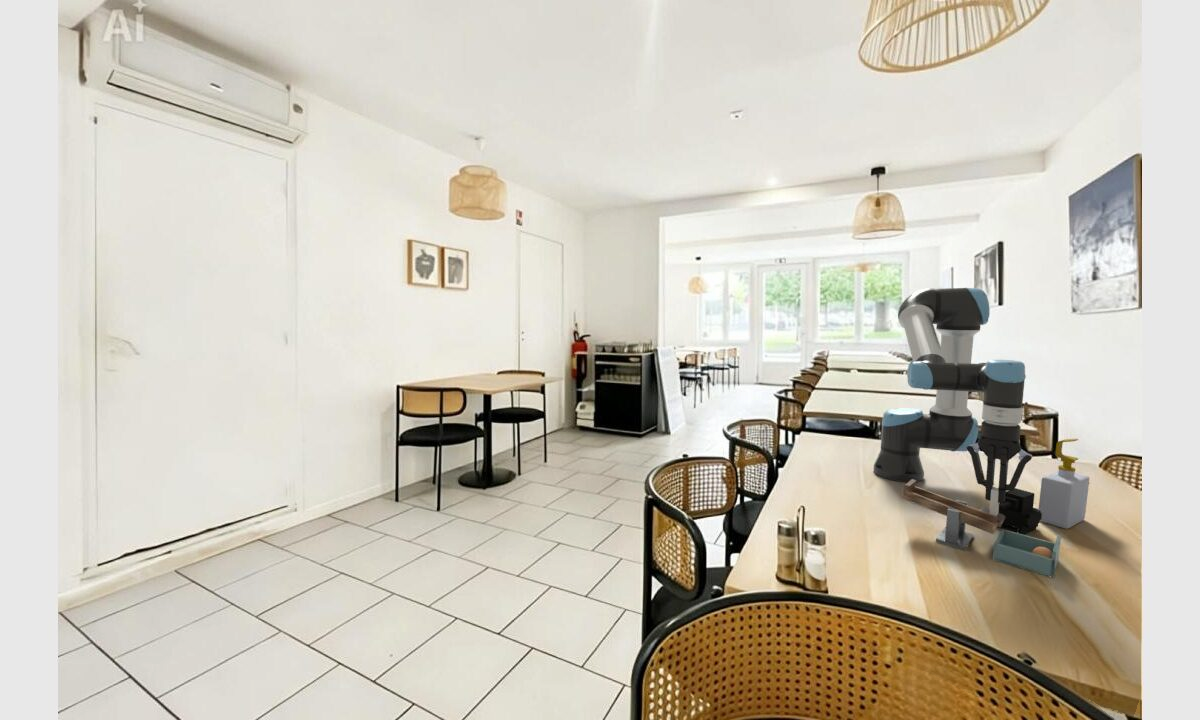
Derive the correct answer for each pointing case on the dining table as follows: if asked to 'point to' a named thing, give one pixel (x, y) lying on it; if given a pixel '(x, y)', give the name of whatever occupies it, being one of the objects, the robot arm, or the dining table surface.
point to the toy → (1020, 511)
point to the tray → (1026, 552)
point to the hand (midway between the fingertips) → (993, 513)
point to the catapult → (941, 505)
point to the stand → (955, 531)
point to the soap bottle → (1064, 493)
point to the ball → (1043, 552)
